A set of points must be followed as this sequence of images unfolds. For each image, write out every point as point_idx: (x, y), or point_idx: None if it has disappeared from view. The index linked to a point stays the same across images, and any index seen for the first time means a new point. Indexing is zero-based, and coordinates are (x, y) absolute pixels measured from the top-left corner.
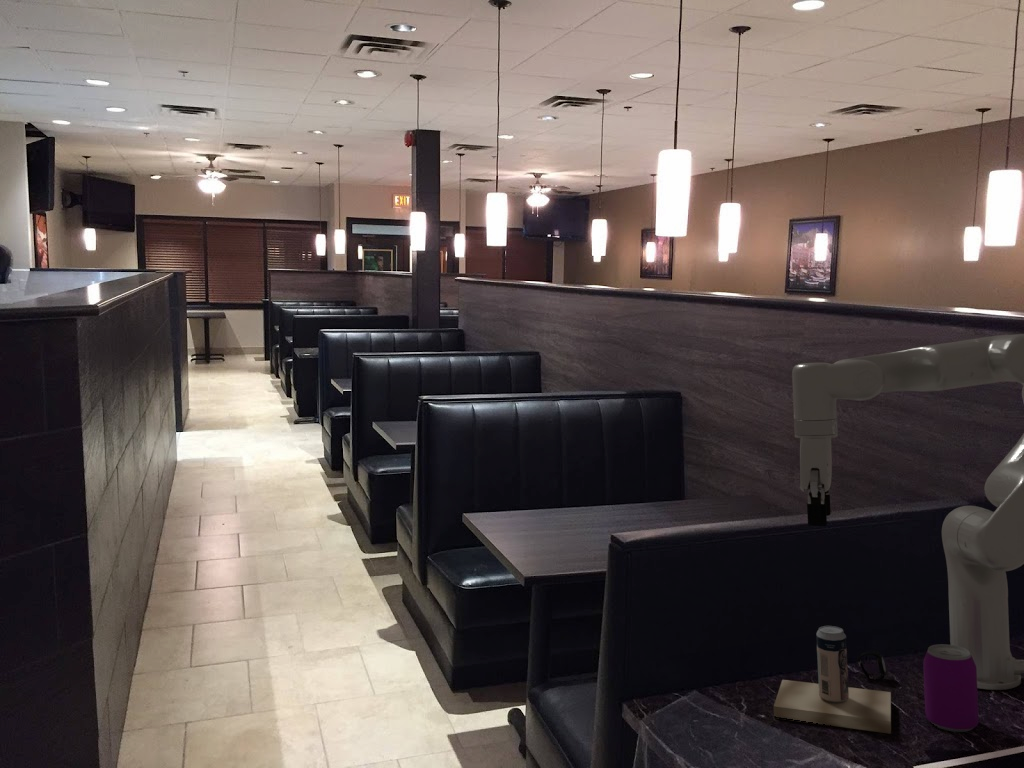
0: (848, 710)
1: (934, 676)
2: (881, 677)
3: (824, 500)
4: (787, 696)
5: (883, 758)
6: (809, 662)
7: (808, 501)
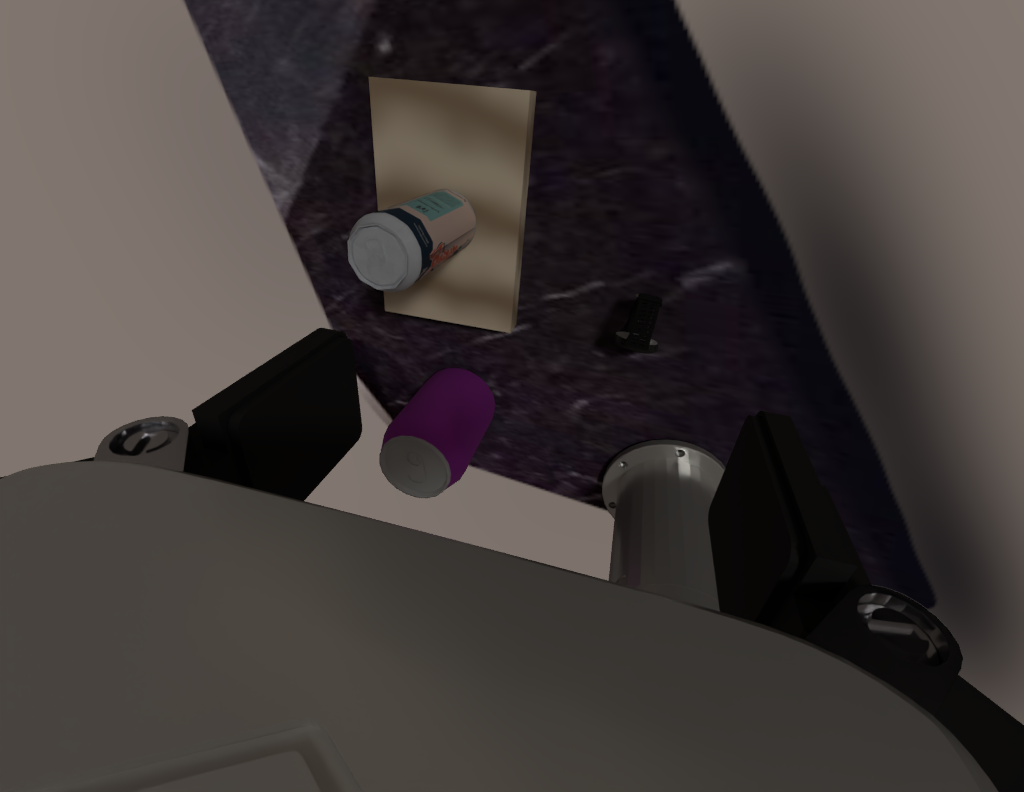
0: None
1: (397, 416)
2: (626, 329)
3: (736, 592)
4: (430, 110)
5: (311, 279)
6: (747, 165)
7: (119, 435)
